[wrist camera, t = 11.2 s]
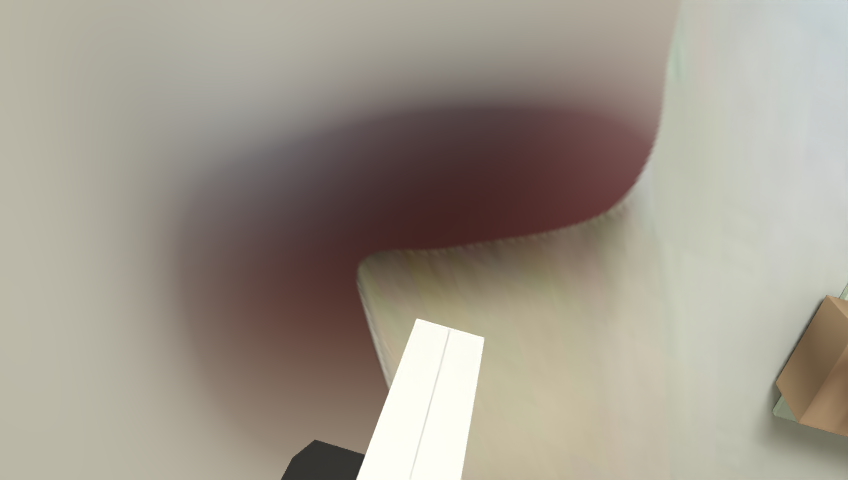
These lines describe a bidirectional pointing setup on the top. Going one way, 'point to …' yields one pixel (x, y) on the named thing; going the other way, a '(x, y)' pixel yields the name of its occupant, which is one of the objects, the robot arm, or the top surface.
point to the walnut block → (820, 371)
